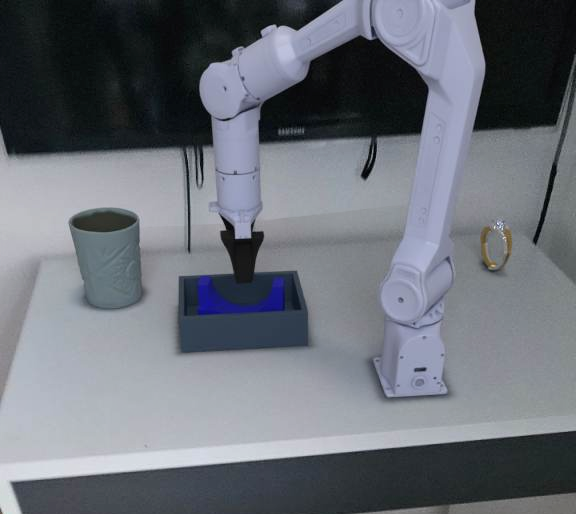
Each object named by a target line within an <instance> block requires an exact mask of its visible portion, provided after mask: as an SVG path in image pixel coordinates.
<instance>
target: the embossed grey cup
mask: <svg viewBox="0 0 576 514" xmlns="http://www.w3.org/2000/svg"><path fill="white" fill-rule="evenodd" d="M68 228H69V231H70V235H71V238H72V242H73V247H74V251H75V255H76V259H77V265H78V268H79V273H80V276H81V279H82V281H83V288H84V289H83V290H84V293H85V297H86V300H87V301H88V303H89V304H90V305H92V306H94V307H96V308H100V309H111V310H112V309H120V308H126V307H129V306H131V305H133V304H135V303H137V302H138V301H140V299H141V297H142V296H143V282H142V260H141V259H142V254H141V247H140V241H141V237H140V235H141V230H140V218H139V215H138V214H137V213H136V212H134V211H132V210H129V209H125V208H120V207H96V208H90V209H85V210H82V211H80V212H77V213H75V214H73V215H72V216H71V217H69V220H68Z"/></svg>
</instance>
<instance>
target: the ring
mask: <svg viewBox="0 0 576 514" xmlns="http://www.w3.org/2000/svg"><path fill="white" fill-rule="evenodd" d="M492 231H494V232H495V233H496V234H497V235H498V236H499V238H500V240H501V243H502V254H501V258H500V260H499V261H498V263H497V264H496V262H493V261H492V260H491V258H490V254H489V247H488V245H489V238H490V234H491V233H492ZM512 248H513V237H512V233H511V230H510V224H509V223H508V222H506V220H505V219H503V220H502V218H500V219H495V218H492V223H490V224H489V225H487V226H485V227H483V229H482V231H481V234H480V249H481V255H482V259H483V261H484V263H485V265H486V267H487V269H488V271H497V270H501V269H502V268H504V267H505V265H507V262H508V261H509V259H510V256H511V253H512Z"/></svg>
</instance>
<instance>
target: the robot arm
mask: <svg viewBox="0 0 576 514" xmlns="http://www.w3.org/2000/svg"><path fill="white" fill-rule="evenodd" d="M475 6H476V0H341V1H340V2H338V3H337V4H335V5H334V6H332V7H331V8H330V9H328V10H326V11H325V12H323V13H322V14H321V15H319V16H318V17H316V18H315V19H313V20H311V21H310V22H309V23H307V24H306V25H304V26H303V27H301V28H300V29H298V30H296V29H294V28H292V27H289V26H288V25H287V26H286V25H280V26H278V27H277V24H272V25H269V26H268V25H267V26H266V27H265V28H263V29H262V30H261V31H260V35H261V38H259V39H258V40H255V42H253V43H251V44H250V45H248V46H246V47H244V46H238V47H236V48H234V49H233V50H232V51H231V54H232V57H231V58H230V59H228V60H225V61H222V62H219V61H218V62H217V61H216V62H212V63H210V64H209V66H208V67H207V68H206V69H205V70H204V71H203V73H202V74H201V77H200V79H199V87H198V88H199V96H200V100H201V103H202V104H203V107H204V108H205V110H206V111H207V112H208V113H209V115H210V116H211V117H210V119H211V131H212V144H213V160H214V161H213V162H214V173H215V174H214V175H215V187H216V188H215V189H216V201H209V203H208V211H209V212H210V213H218V215H219V217H220V219H221V221H222V223H223V225H224V227H225V229H224V230H220V231H219V234H220V240H221V242H222V244H223V245H224V247H225V249H226V251H227V253H228V256H229V259H230V262H231V267H232V272H233V274H234V276H235V279H236V282H237V284H241V283H252V281H253V276H254V273H255V269H256V262H257V258H258V253H259V250H260V248H261V246H262V245H263V242H264V241H265V240H264V239H265V231H263V230H259V231H258V230H257V231H253V230H254V225H255V222H256V219H257V218H258V216H259V215H260V213H261V212H262V211H263V207H264V203H263V201H262V193H261V192H262V191H261V164H260V163H261V162H260V134H259V133H260V132H259V131H260V130H259V128H260V127H259V121H260V120H261V107H262V106H263V104H264V103H265V101H267V100H269V99H270V98H272V97H274V96H276V95H278V94H280V93H282V92H283V91H285V90H287V89H289V88H290V87H292V86H295V85H296V84H298V83H301V82H302V81H303V80H305V78H306V77H307V75H308V73H309V68H310V64H311V61H313V60H315V59H316V58H318V57H320V56H322V55H325V54H327V53H328V52H330V51H332V50H334V49H336V48H338V47H340V46H342V45H344V44H345V43H349V41H352V40H354V39H355V38H357V37H359V36H361V37H363V38H365V39H367V40H369V41H372V40H376V39H379V40H380V41H381V43H382V44H383V45H384V46H385V47H386V48H388V50H390V51H392V52H393V53H394V54H395V55H397V56H398V57H399V58H401V59H402V60H403V61H404V62H406V63H408V65H410V66H411V67H413V68H414V69H415V70H416V71H417V73H418V74H419V75H420V77H421V79H422V80H423V81H424V83H425V84H426V86H427V88H428V93H427V99H426V104H425V110H424V116H423V122H422V127H421V132H420V134H421V135H420V139H419V145H418V149H417V156H416V163H415V167H414V172H413V173H414V174H413V178H412V179H413V180H412V183H411V184H412V185H411V191H410V196H409V202H408V206H407V207H408V209H407V213H406V217H405V224H404V231H403V235H402V238H401V241H400V242H399V245H398V246H397V249H396V251H394V254H393V256H392V258H391V260H390V266H389V270H388V274H387V275H386V276H385V277H384V279H383V280H382V281H381V283H380V285H379V287H378V292H377V298H378V303H379V306H380V308H381V310H382V311H383V313H384V326H383V337H382V347H381V348H382V350H381V356H375V357H373V358H372V362H373V365H374V369H375V372H376V373H377V376H378V379H379V382H380V384H381V388H382V390H383V393H384V396H385V397H386V398H402V397H403V398H404V397H419V396H435V395H437V396H438V395H446V394H447V393H448V388H447V386H446V384H445V382H444V379H443V373H444V367H445V361H446V351H447V350H446V346H445V343H444V340H443V338H442V329H443V322H444V315H445V303H444V296H445V295H446V294H447V293H449V292H451V290H452V289H453V287H454V285H455V282H456V277H457V276H456V275H457V274H456V267H455V264H454V253H455V252H454V251H455V248H456V244H455V242H453V241H452V240H451V239H450V236H451V232H452V231H451V230H452V227H453V221H454V218H455V212H456V208H457V204H458V199H459V194H460V189H461V185H462V180H463V175H464V171H465V168H466V163H467V158H468V152H469V148H470V145H471V144H470V143H471V139H472V135H473V130H474V126H475V122H476V121H475V120H476V118H477V117H476V116H477V112H478V107H479V104H480V103H479V102H480V97H481V93H482V89H483V86H484V80H485V75H486V60H485V56H484V51H483V46H482V42H481V39H480V33H479V30H478V24H477V20H476V16H475Z"/></svg>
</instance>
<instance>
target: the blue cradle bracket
mask: <svg viewBox="0 0 576 514" xmlns="http://www.w3.org/2000/svg"><path fill="white" fill-rule="evenodd" d="M197 286H198V297H199V307H198V315H214V314H233V313H252V312H271V311H285V282H284V278H274V280H273V285H272V290H271V292H270V293H269V295H268V296H267V297H266V298H265V299H264V300H263V301H261V302H260V303H258V304H255V305H252V306H238V305H234V304H232V303H230V302H228V301H226V300H225V299H223V298H222V297H221V296H220V295H219V294H218V292H217V291H216V289H215V287H214V285H213V283H212V278H211V276H201V277H200V279H199V282H198V285H197Z"/></svg>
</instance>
